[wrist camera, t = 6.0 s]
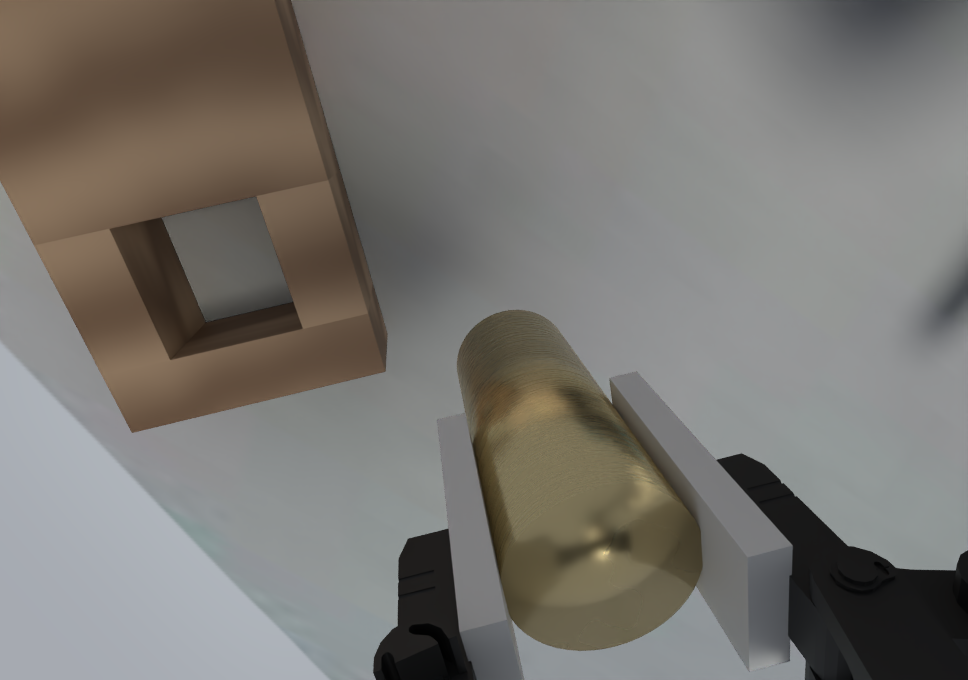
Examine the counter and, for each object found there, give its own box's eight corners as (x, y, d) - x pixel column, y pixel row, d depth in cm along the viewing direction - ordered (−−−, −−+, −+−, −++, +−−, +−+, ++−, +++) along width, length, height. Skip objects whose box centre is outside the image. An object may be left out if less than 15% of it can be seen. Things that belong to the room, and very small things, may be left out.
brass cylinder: (445, 325, 19) (482, 517, 10) (559, 298, 19) (699, 463, 10) (469, 424, 21) (521, 670, 11) (574, 398, 21) (709, 621, 12)
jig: (-29, -41, 23) (-165, -91, 17) (262, -97, 24) (221, -163, 18) (172, 385, 31) (122, 444, 25) (387, 334, 31) (385, 380, 26)
